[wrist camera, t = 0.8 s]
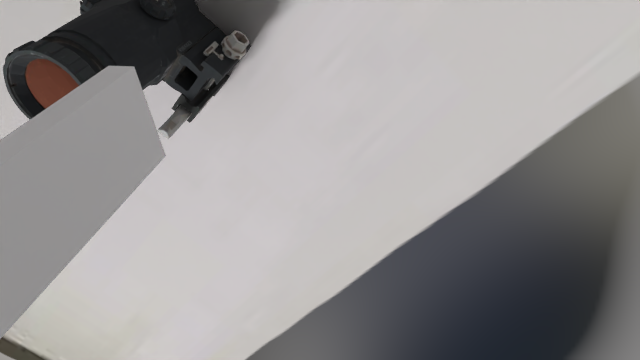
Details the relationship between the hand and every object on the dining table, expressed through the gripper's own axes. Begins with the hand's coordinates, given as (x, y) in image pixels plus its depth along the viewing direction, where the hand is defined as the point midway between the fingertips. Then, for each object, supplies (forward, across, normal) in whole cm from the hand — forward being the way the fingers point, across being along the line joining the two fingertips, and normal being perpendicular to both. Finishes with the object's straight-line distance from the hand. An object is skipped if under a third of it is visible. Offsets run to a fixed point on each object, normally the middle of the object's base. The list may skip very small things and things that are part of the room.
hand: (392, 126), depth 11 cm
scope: (+22, -19, -5) cm, 29 cm away
